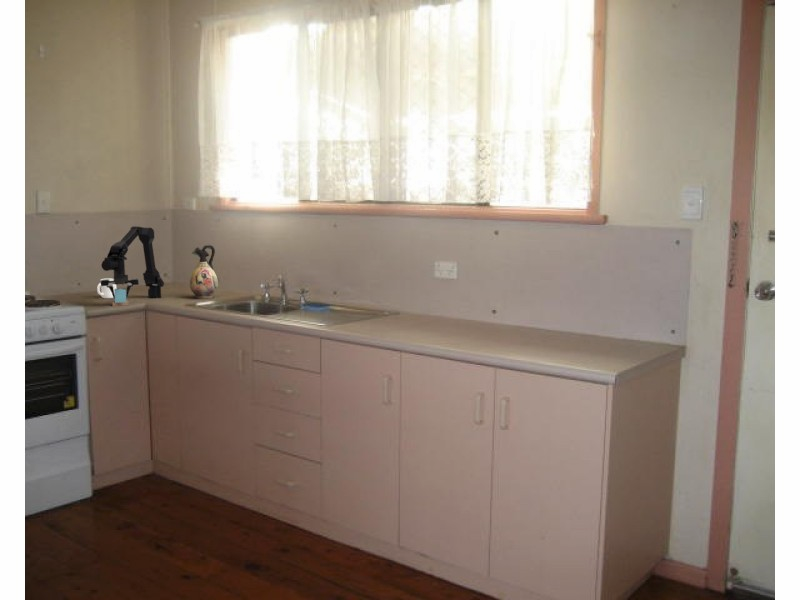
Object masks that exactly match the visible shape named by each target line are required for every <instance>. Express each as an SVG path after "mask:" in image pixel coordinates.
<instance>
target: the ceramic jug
mask: <svg viewBox="0 0 800 600" xmlns="http://www.w3.org/2000/svg"><path fill="white" fill-rule="evenodd" d="M208 249H210V250H211V255H210V254H209V252H208V251H207V250H208ZM215 251H216V250H215V247H214V246H213V245H212V244H205V245H204V246H202V248H200V247H198V246H197V247H195V249H194V250H193V251H192V252H191V254H193V255H194V256H195V255H196V256H197V257H199V262H198V263H197V265H196V266H195V268H194V270H193V271H192V273H191V275H190V279H189V287H190V290H191V292H192V293H193V294H194V295H195V298H196V299H198V298H199V299H198V300H202V299H204V300H205V299H206V298H207V299H212V298H214V295H215V293H216V292H217V290H218V288H219V280H218V276H217V274H216V272H215V270H214V265H213V261H214V257H215V254H216V252H215ZM209 256H210V257H209ZM208 257H209V260H208V259H207V258H208Z"/></svg>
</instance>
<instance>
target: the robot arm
mask: <svg viewBox="0 0 800 600" xmlns="http://www.w3.org/2000/svg"><path fill="white" fill-rule="evenodd" d="M137 237H138V240H139V241H140V242H141V244H142V247H143V256H144V261H145V262H144V263H145V271H144V272H143V273H142V277H143V280H144V283H145V287H148V289H147V297H148V298H150V299H153V298H152V297H160V298H162V287H164V285H165V281H164V280H163V279H162V278H161V275H160V272H159V271H158V269H157V268H156V262H155V255H154V247H153V246H154V245H153V242H154V240H155V230H154V228H152V227H145V226H142V227H141V226H140V225H139V226H137V225H134V226H131V227H130V230H129V231H128V232H127V233H126V234H125V235H124V236H123V237H122V239H120V240H119V241H117V242H114V243H113V244H112V245H111V246H110V248H109V251H108V253H107V256H106V257H104V260H102V262H101V268H102V270H104V271H105V272H108V271H113V278H114V281H109V279H106V278H104V279H105V280H101V279H100V283H101V286H107V287H109V289H110V290H111V292H112V295H113V298H112V299H114V300H115V295H114V289H113V285H112V284H116V286H118V285H125V284H127V286H126V299H128V297H129V293H130V290H131V288H132V287H134V286H137V285H139V284H140V283H139V279H138V278H130V279H129V274H126V268H125V267H126V264H125V261H126V260H128V258H127V257H126V254H127V253H128V251H129V247H130V245H131V244H132V243H133V242H134V241H135V240H136V238H137ZM101 286H100V287H101Z"/></svg>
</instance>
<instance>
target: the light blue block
mask: <svg viewBox="0 0 800 600" xmlns="http://www.w3.org/2000/svg"><path fill="white" fill-rule="evenodd" d="M114 291H115V299H114V301H115V303H122V302H126V301H127V298H126V293H127V288H117V289H115V290H114Z"/></svg>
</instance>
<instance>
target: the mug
mask: <svg viewBox="0 0 800 600" xmlns="http://www.w3.org/2000/svg"><path fill="white" fill-rule="evenodd" d="M105 279H109V281H114V277H113V278H111V277H110V278H109V277H108V278H107V277H106V278H101V279H100V281H101V280H105ZM112 285H113V289H114V290H115V289H118V288H117V286H118V285H116V284H112ZM96 292H97V294H98V295H100V296H101V298H103V299H114V298H113V295H112V292H111V290H110V289H109V287H107V286H101V282H99V283H98V284H97V287H96ZM114 295H115V291H114Z"/></svg>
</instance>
